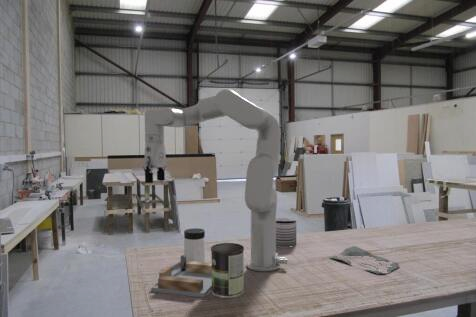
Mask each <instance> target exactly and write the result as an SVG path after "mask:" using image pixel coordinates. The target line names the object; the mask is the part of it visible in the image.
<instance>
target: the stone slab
mask: <svg viewBox="0 0 476 317" xmlns="http://www.w3.org/2000/svg"><path fill="white" fill-rule="evenodd" d="M338 255H343V256H362V257H363V256H369V257H373V258H375V259H376V260H375V261H385V262H392V263H393V264H391V265H390V266H392V267H387V266H386V265H385V266H386V267H387V268H389V269H387V272H388V273H382V272H383V271H380V270H378V269H380V268H378V267H377V266H374V265H372V264H371V263H367V262H360V263H361V264H364V265H369V266H373V267H374V268H376V267H377V268H376V269H375V270H376V271H372V270H373V269H367V270H365V272H366V271H367V272H372V273H374V274H381V275H388V274H390V273H391V272H393V271H394V270H396V269H397V268H399V267H400V265H399V264H400V263H398V262H395V261H394V262H393V261H390V260H389V259H387V258H385V257H382V256H378V255H374V254H372V253H370V252H369V251H368V250H365V249H363V248H362V247H361V248H360V247H358V246H356V245H354V246H350V247H348V248H345V249H344V250H343V251H341V253H338ZM328 258H329V259H335V260H339V261H342V262H344V263H347V264H348V265H350V264H351V262H350V261H345V260H346V259H344V258H342V259H340V258H338V257H337V256H336V255H332V256H331V255H330V256H328ZM343 259H344V260H343ZM361 264H360V265H361ZM379 264H381V263H379ZM364 265H363V266H364ZM350 266H351V265H350ZM369 266H368V267H369ZM380 266H382V264H381V265H380ZM379 271H380V272H379Z"/></svg>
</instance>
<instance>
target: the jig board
mask: <svg viewBox="0 0 476 317" xmlns="http://www.w3.org/2000/svg"><path fill="white" fill-rule="evenodd" d="M161 276H170V277H180V278H190V279H199V280H203V290H202V291H201V292H200V293H196V292H187V291H178V290H169V289H160V288H158V282H156V283H154V285H152V286H151V287H150V290H151V292H155V293H162V294H163V293H164V294H172V295H180V296H190V297H197V298H205V297H206V296H207V295H208V294H209V293H210V292H211V291H212V274H203V273H193V272H186V271H181V266H177V267H176V268H175V269H174V270H172V267H171V266H166V267H165V268H163V270H161V271H159V273H158V279H159V278H160V277H161Z"/></svg>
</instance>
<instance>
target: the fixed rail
mask: <svg viewBox="0 0 476 317" xmlns="http://www.w3.org/2000/svg"><path fill="white" fill-rule="evenodd" d="M157 283H158V288H160V289H169V290H178V291H187V292H196V293H200V292H201V291H202V290H203V280H199V279H190V278H180V277H170V276H161V277H160V278H159V277H158V278H157Z"/></svg>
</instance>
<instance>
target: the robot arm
mask: <svg viewBox="0 0 476 317" xmlns="http://www.w3.org/2000/svg"><path fill="white" fill-rule="evenodd" d="M223 117H228V118H230V119H231V120H233V121H235V122H236V123H237V124H239V125H241V126H242V127H244V128H246V129H248V130H254V131H255V130H256V131H257V140H256V149H255V150H256V151H255V156H253V158H251V160H250V161H249V162H248V165H247V169H246V170H247V171H246V176H245V177H246V178H245V179H246V180H245V186H244V187H245V190H244V201H245V203H244V204H245V205H246V206H247V208H248V209H249V210H250V260H248V261H247V262H246V267H247V268H248V269H250V270H252V271H256V272H273V271H277V270H278V269H280V267H281V264H282V265H288V263H289V262H288V258H286V257H285V256H284V257H282V256H279V253H278V252H277V247H276V219H277V205H278V195H277V191H276V189H275V187H274V184H273V183H274V177H275V176H276V175H277V173H278V170H279V157H280V156H279V155H280V143H281V126H280V123H279V122H278V119H277V118H276V117H275V115H273V114H272V113H271V112H269V111H268V110H266V109H264V108H262V107H260V106H257V105H256V104H254V103H253V102H250V101H249V100H247V99H246V98H244V97H242V96H241V95H240V94H239V93H237V92H236V91H235V90H232V89H229V88H228V89H227V88H226V89H222V90H220V91H218V92H217V93H216V94H215V95H212V96H208V97H204V98H201V99H199V100H198V101H197V103H196V104H194V105H192V106H188V107H185V108H173V107H162V108H148V109H145V111H144V140H145V141H144V143H145V144H144V146H145V147H144V160H143V161H142V166H143V170H144V171H143V172H144V183H146V184H153V183H154V172H153V171H154V168H156V169H157V170H156V178H157V179H156V180H157V181H163V182H164V181H165V178H166V177H165V170H166V166H167V157H166V147H165V135H164V134H165V133H164V132H165V129H164V128H165V127H169V128H184V127H188V126H192V125H193V126H194V125H196V124H197V125H198V124H199V123H204V122H207V121H210V120H216V119H217V118H218V119H219V118H223Z"/></svg>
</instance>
